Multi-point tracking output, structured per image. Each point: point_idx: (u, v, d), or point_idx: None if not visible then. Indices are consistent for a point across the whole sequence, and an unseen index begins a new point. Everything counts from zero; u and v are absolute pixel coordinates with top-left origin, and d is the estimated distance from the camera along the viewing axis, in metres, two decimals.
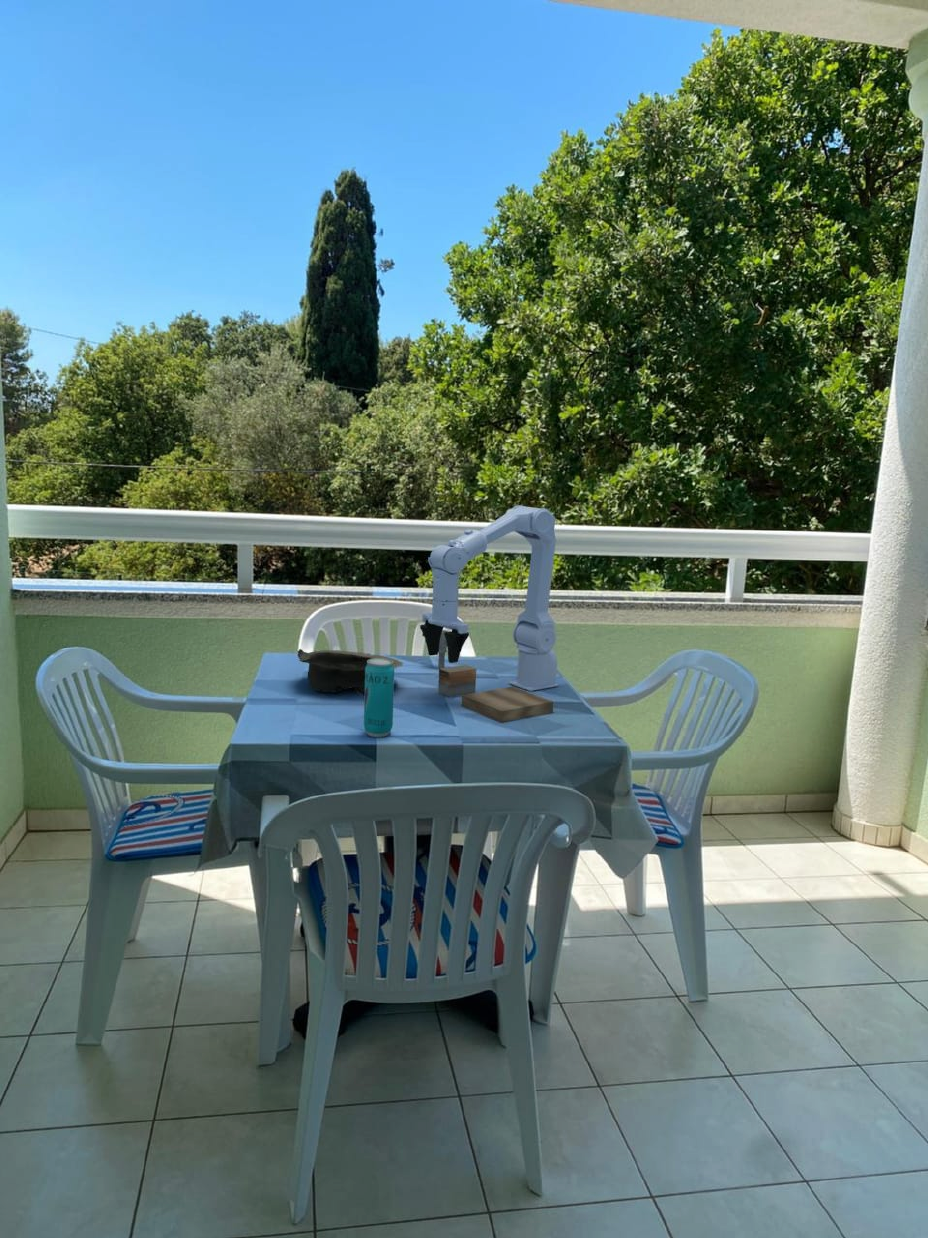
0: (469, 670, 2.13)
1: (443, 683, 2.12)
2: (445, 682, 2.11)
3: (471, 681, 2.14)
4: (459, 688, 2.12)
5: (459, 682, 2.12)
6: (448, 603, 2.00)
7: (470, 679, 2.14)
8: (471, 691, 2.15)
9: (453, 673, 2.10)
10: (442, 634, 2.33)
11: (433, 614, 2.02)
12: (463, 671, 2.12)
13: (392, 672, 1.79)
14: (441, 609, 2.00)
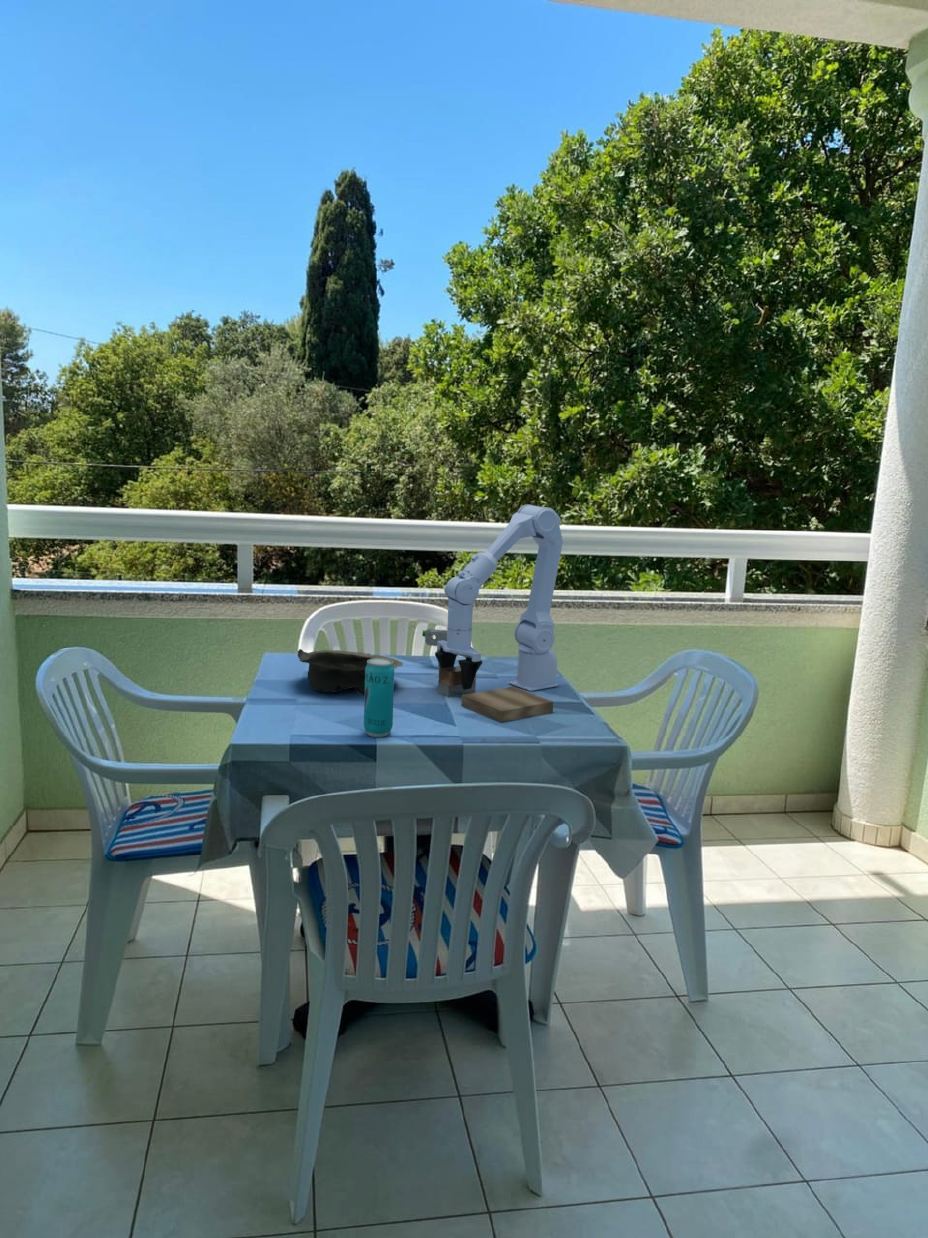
0: None
1: (443, 683, 2.12)
2: (445, 682, 2.11)
3: None
4: (459, 688, 2.12)
5: (459, 682, 2.12)
6: (462, 632, 2.09)
7: None
8: (471, 691, 2.15)
9: (453, 673, 2.10)
10: (442, 634, 2.33)
11: (448, 642, 2.11)
12: None
13: (392, 672, 1.79)
14: (455, 638, 2.09)
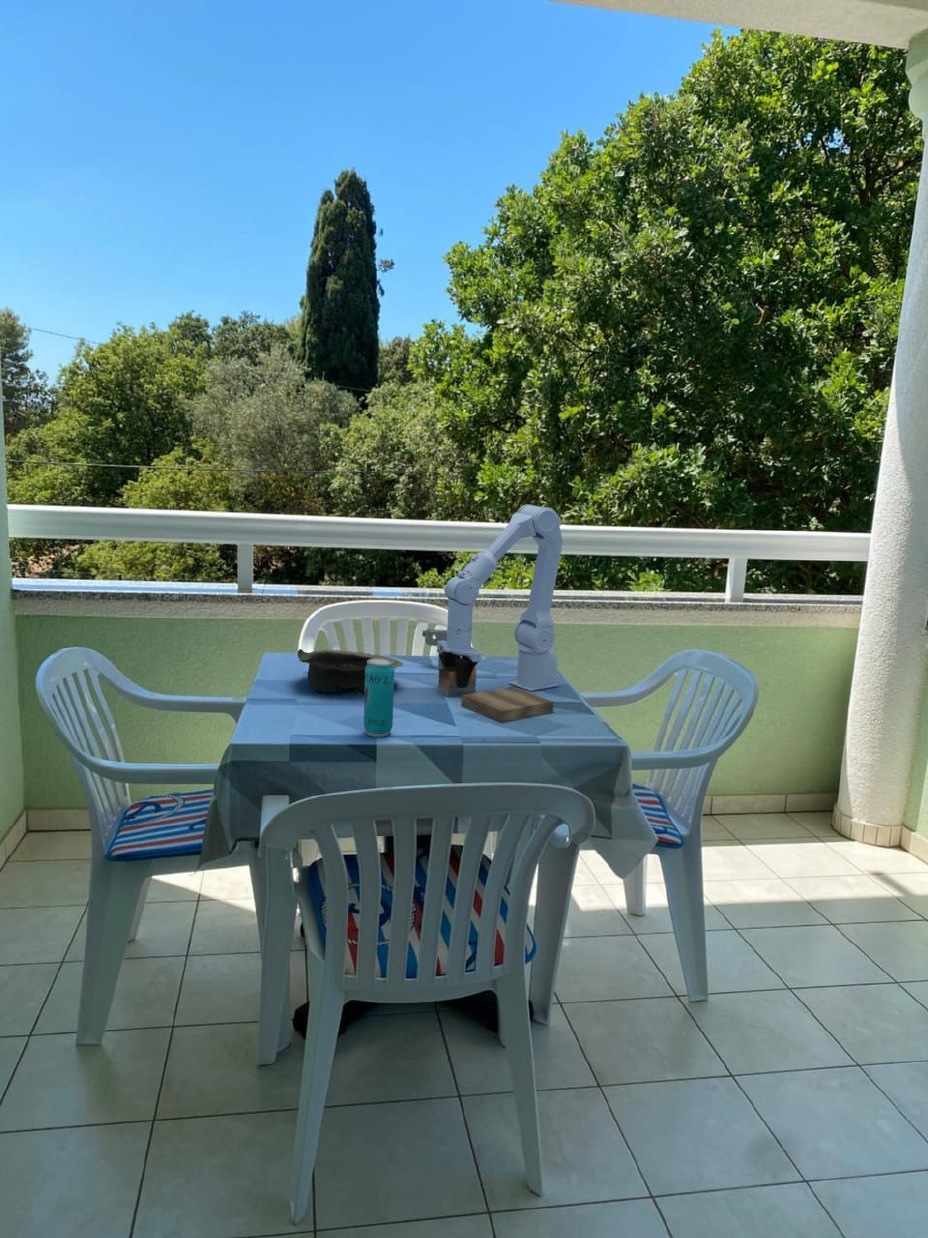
0: None
1: (443, 683, 2.12)
2: (445, 682, 2.11)
3: (471, 681, 2.14)
4: (459, 688, 2.12)
5: None
6: (462, 632, 2.09)
7: (470, 679, 2.14)
8: (471, 691, 2.15)
9: (453, 673, 2.10)
10: (442, 634, 2.33)
11: (448, 642, 2.11)
12: None
13: (392, 672, 1.79)
14: (455, 638, 2.09)
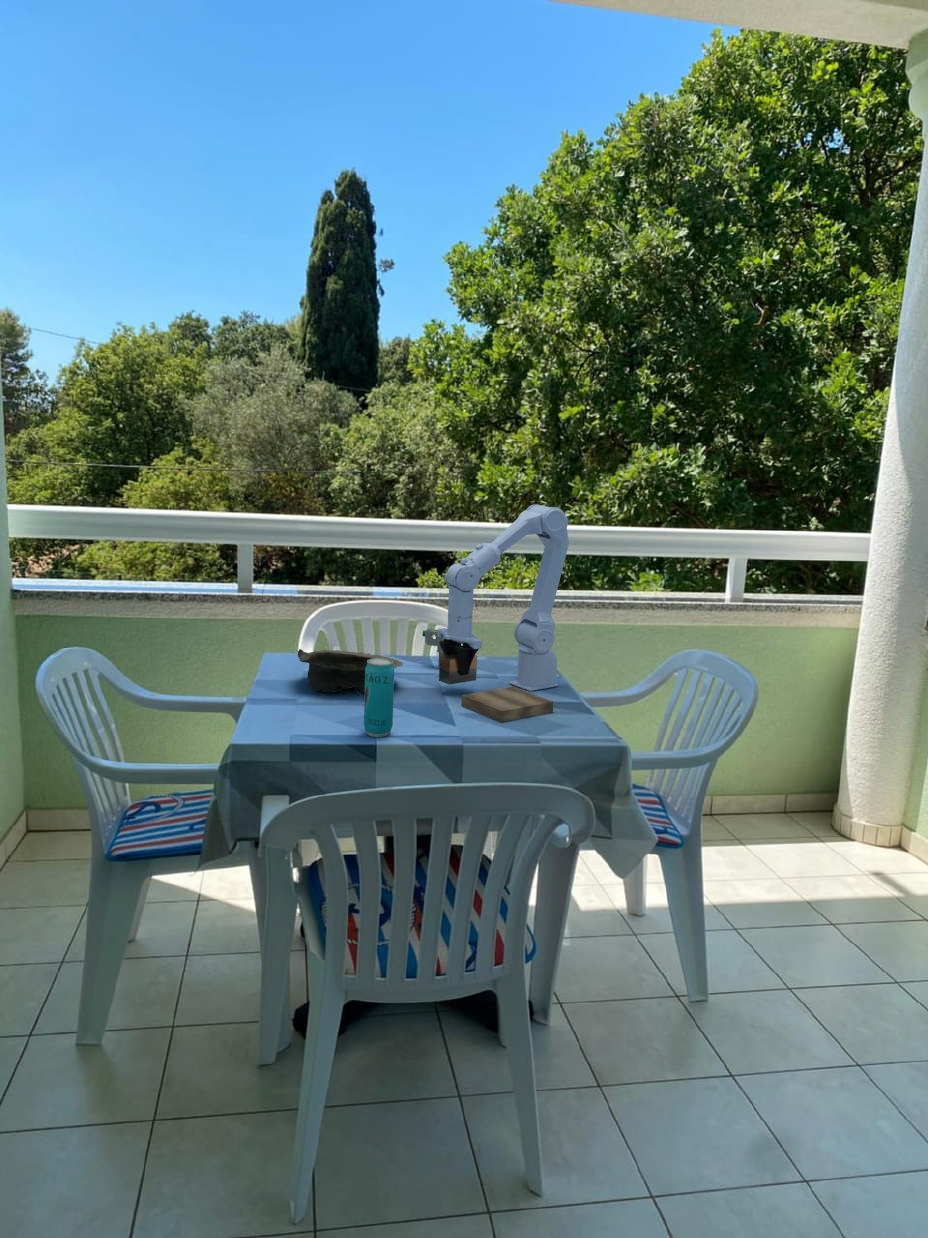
0: None
1: (444, 671, 2.11)
2: (446, 669, 2.10)
3: (472, 668, 2.13)
4: (460, 676, 2.12)
5: None
6: (463, 619, 2.08)
7: (471, 666, 2.13)
8: (472, 678, 2.14)
9: (454, 660, 2.10)
10: None
11: (448, 630, 2.10)
12: None
13: (392, 672, 1.79)
14: (456, 625, 2.09)
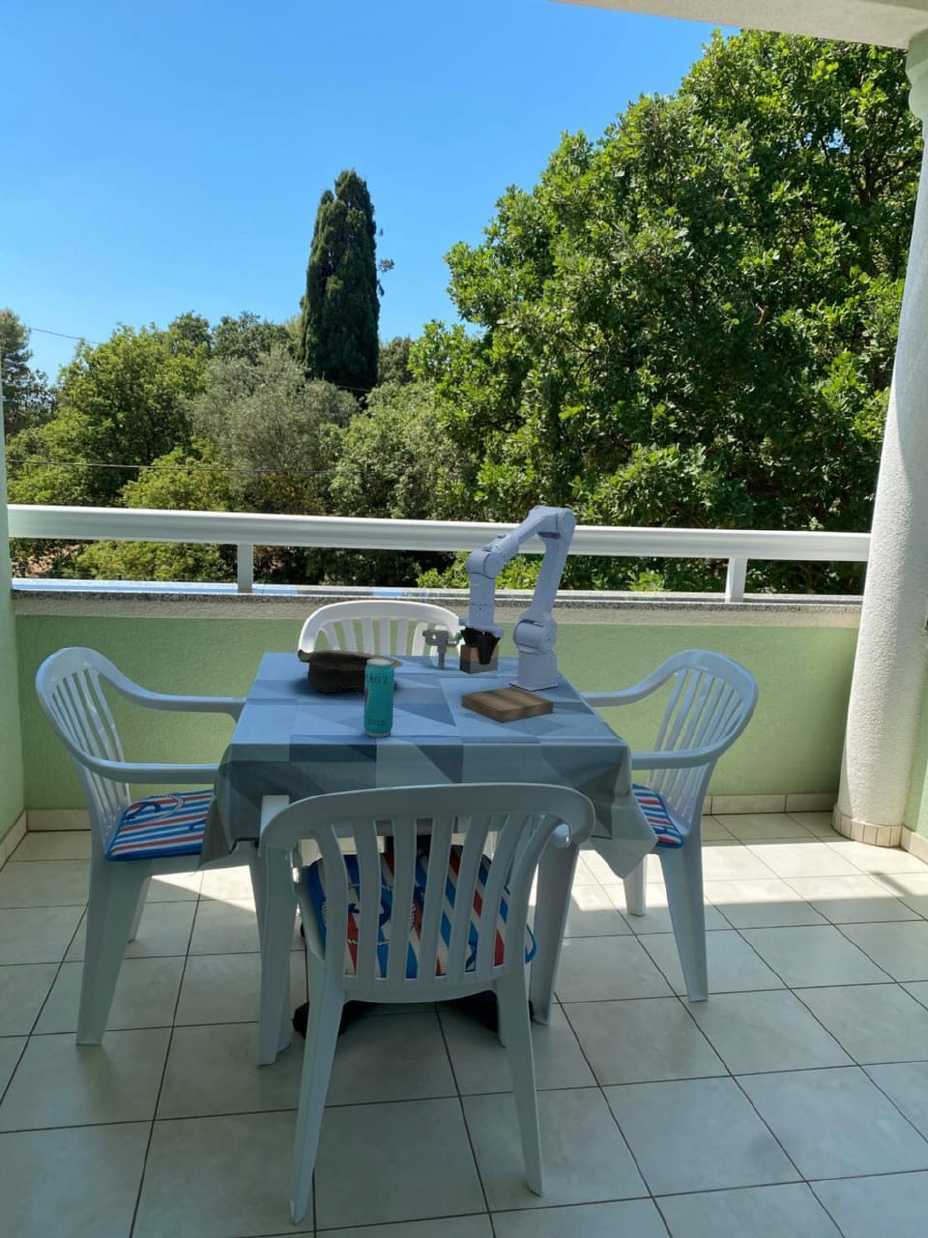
0: None
1: (464, 660, 2.06)
2: (467, 658, 2.05)
3: (493, 658, 2.08)
4: (481, 665, 2.06)
5: None
6: (485, 607, 2.03)
7: (492, 656, 2.08)
8: (493, 668, 2.09)
9: (475, 649, 2.04)
10: (442, 634, 2.33)
11: (470, 618, 2.05)
12: None
13: (392, 672, 1.79)
14: (477, 613, 2.03)
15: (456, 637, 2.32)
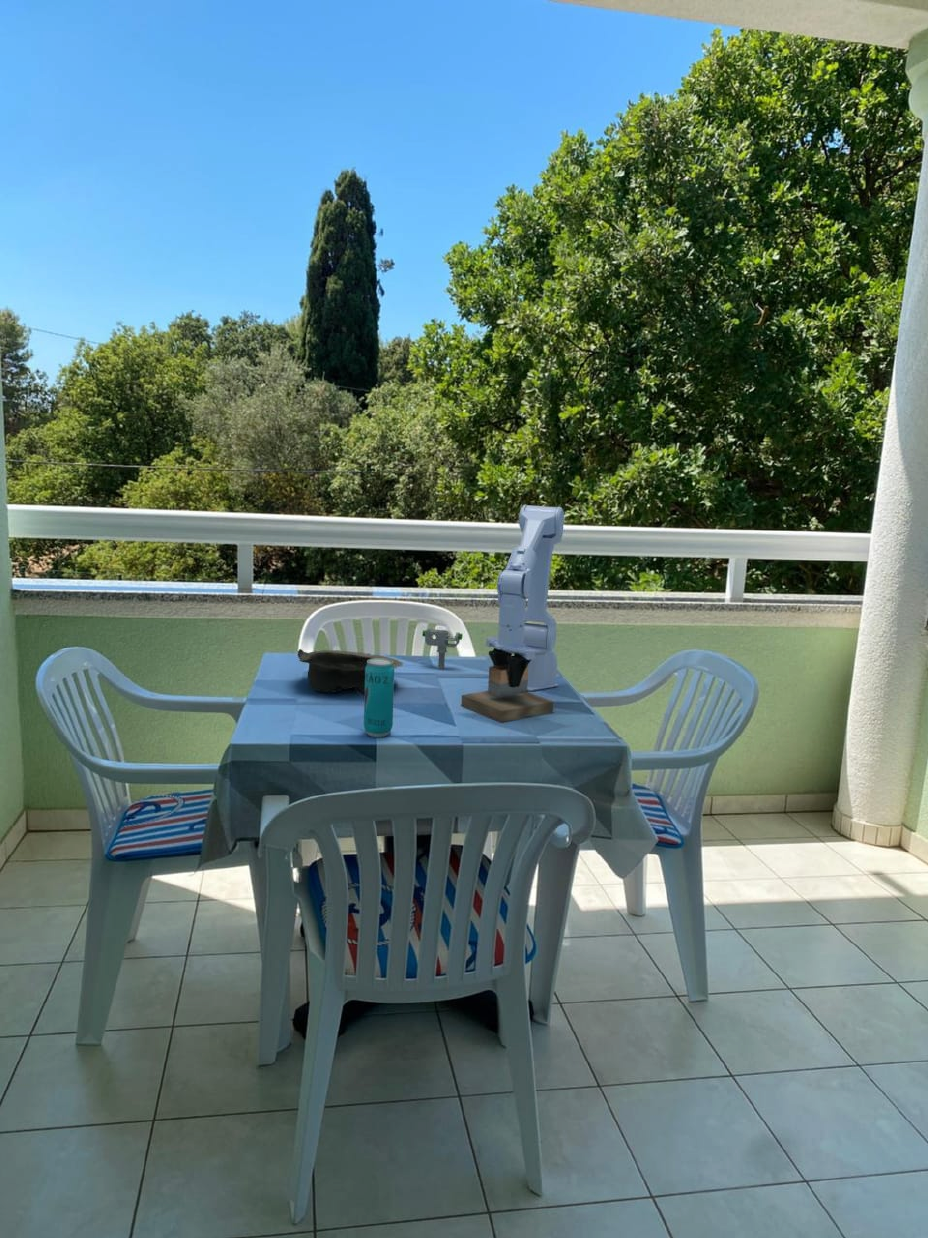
0: None
1: (494, 682, 2.00)
2: (496, 681, 1.99)
3: (523, 680, 2.02)
4: (510, 687, 2.00)
5: None
6: (515, 628, 1.97)
7: (522, 678, 2.02)
8: (523, 690, 2.03)
9: (505, 671, 1.98)
10: (442, 634, 2.33)
11: (499, 639, 1.99)
12: None
13: (392, 672, 1.79)
14: (508, 634, 1.97)
15: (456, 637, 2.32)
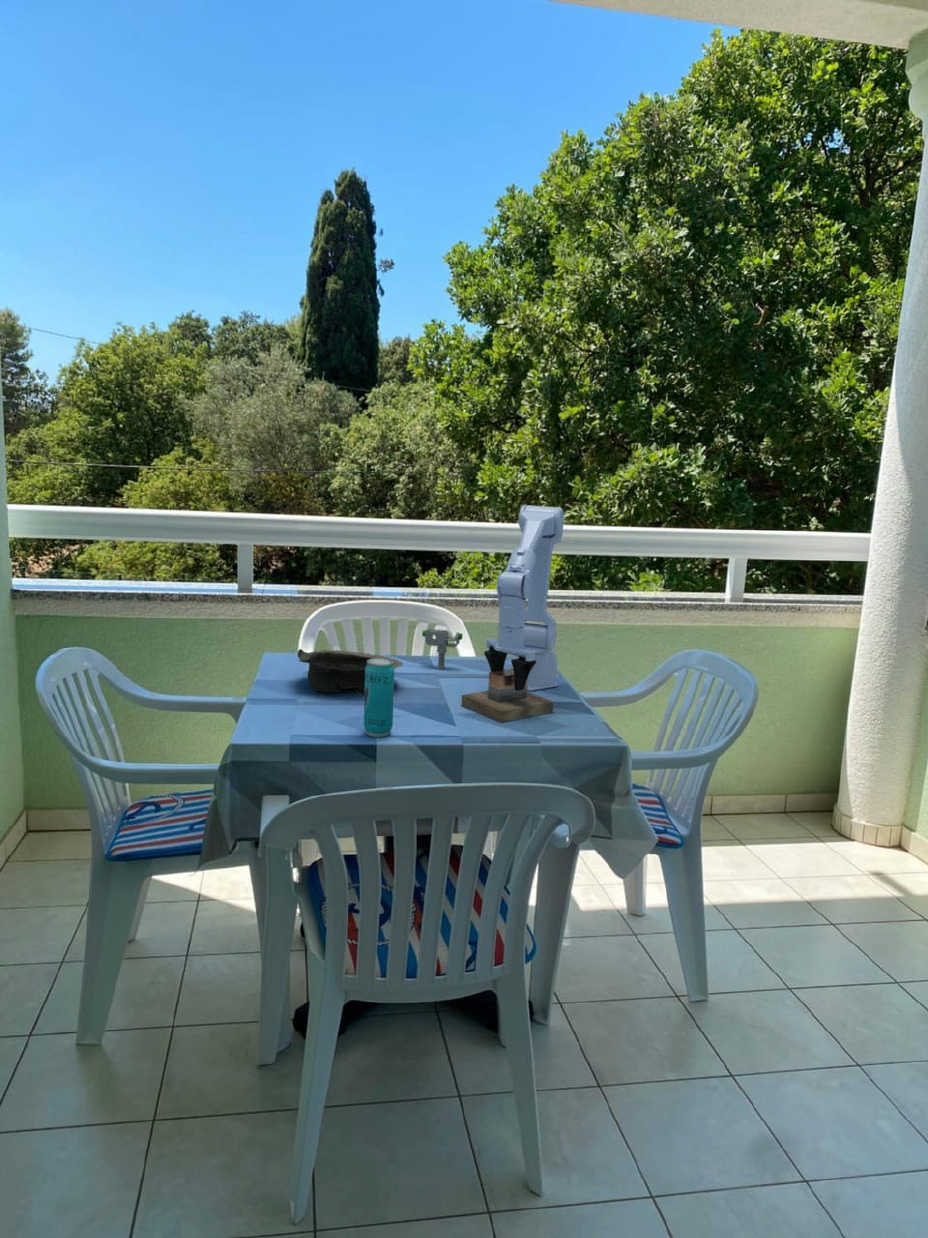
0: None
1: (493, 688, 2.00)
2: (496, 686, 1.99)
3: None
4: (510, 693, 2.01)
5: (510, 686, 2.00)
6: (515, 630, 1.97)
7: None
8: (522, 696, 2.03)
9: (504, 677, 1.99)
10: (442, 634, 2.33)
11: (499, 641, 1.99)
12: None
13: (392, 672, 1.79)
14: (508, 636, 1.97)
15: (456, 637, 2.32)
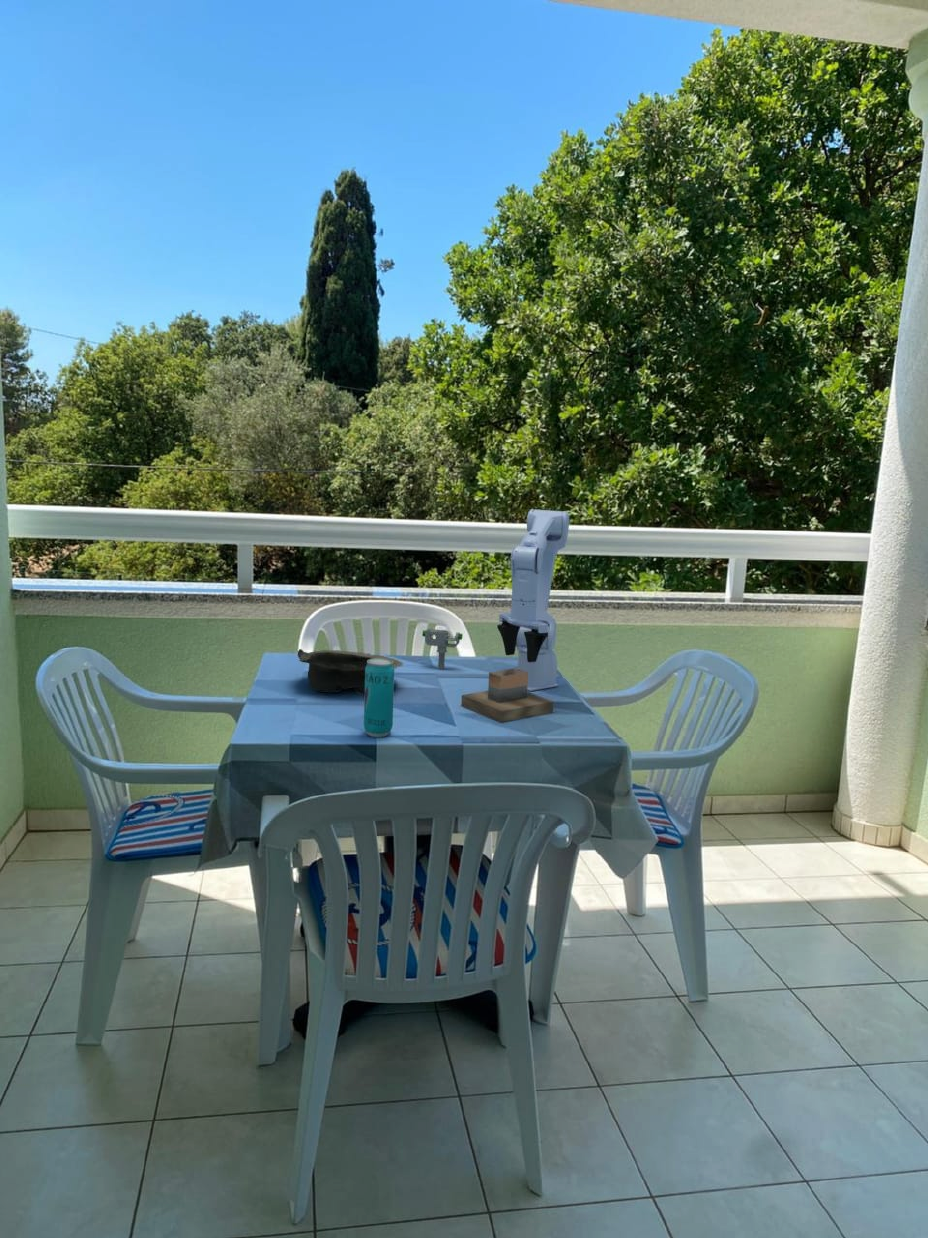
0: (521, 674, 2.01)
1: (493, 688, 2.00)
2: (496, 686, 1.99)
3: (523, 685, 2.02)
4: (510, 693, 2.01)
5: (510, 686, 2.00)
6: (528, 603, 2.02)
7: (522, 683, 2.02)
8: (522, 696, 2.03)
9: (504, 677, 1.99)
10: (442, 634, 2.33)
11: (512, 614, 2.04)
12: (515, 675, 2.00)
13: (392, 672, 1.79)
14: (520, 608, 2.02)
15: (456, 637, 2.32)
